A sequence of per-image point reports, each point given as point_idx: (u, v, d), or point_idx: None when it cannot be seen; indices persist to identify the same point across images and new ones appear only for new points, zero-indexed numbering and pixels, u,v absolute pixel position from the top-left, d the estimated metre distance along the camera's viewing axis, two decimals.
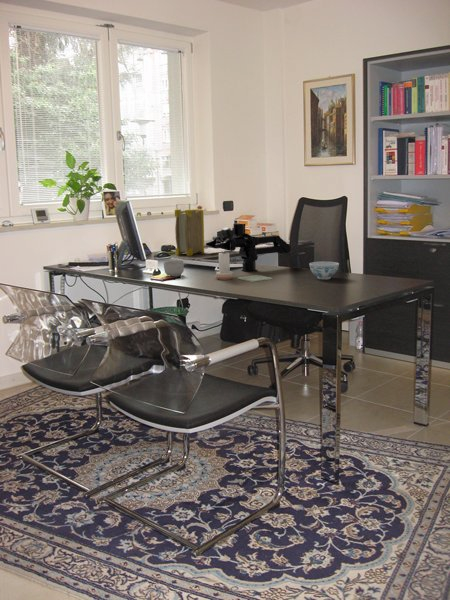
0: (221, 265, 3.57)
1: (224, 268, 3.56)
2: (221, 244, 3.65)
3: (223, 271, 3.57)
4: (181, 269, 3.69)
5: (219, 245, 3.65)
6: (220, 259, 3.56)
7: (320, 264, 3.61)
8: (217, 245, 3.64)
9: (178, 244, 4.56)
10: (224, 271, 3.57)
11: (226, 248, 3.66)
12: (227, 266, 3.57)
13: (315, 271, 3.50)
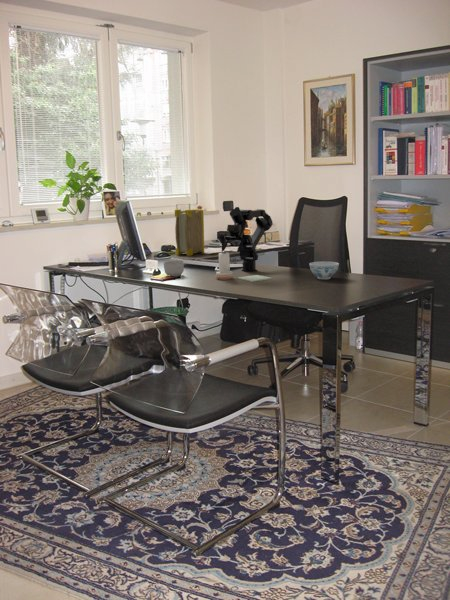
0: (221, 265, 3.57)
1: (224, 268, 3.56)
2: (241, 246, 3.62)
3: (223, 271, 3.57)
4: (181, 269, 3.69)
5: (240, 248, 3.62)
6: (220, 259, 3.56)
7: (320, 264, 3.61)
8: (239, 250, 3.61)
9: (178, 244, 4.56)
10: (224, 271, 3.57)
11: (245, 245, 3.64)
12: (227, 266, 3.57)
13: (315, 271, 3.50)
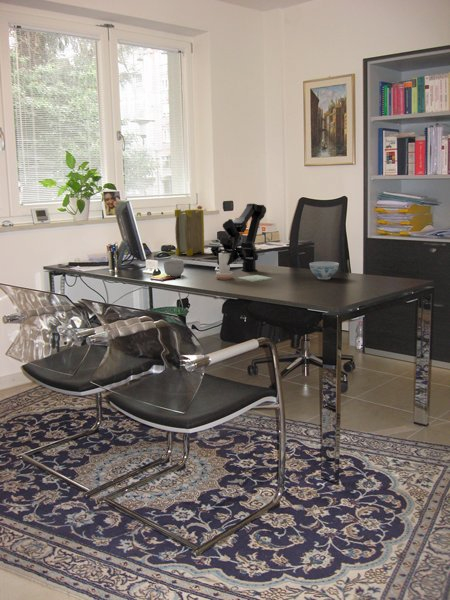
0: (221, 265, 3.57)
1: (224, 268, 3.56)
2: (231, 259, 3.57)
3: (223, 271, 3.57)
4: (181, 269, 3.69)
5: (230, 261, 3.57)
6: (220, 259, 3.56)
7: (320, 264, 3.61)
8: (229, 263, 3.56)
9: (178, 244, 4.56)
10: (224, 271, 3.57)
11: (236, 258, 3.59)
12: (227, 266, 3.57)
13: (315, 271, 3.50)
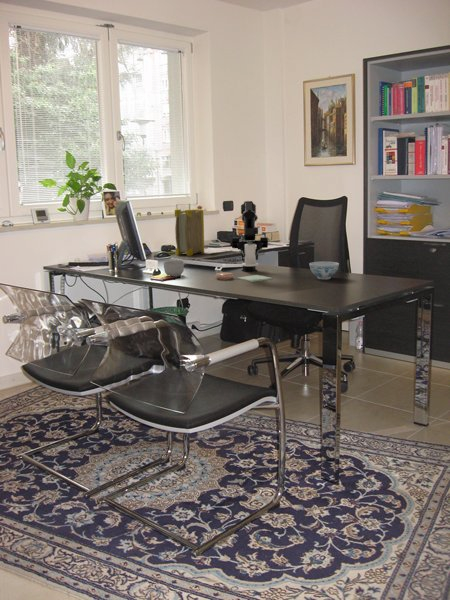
0: (249, 256, 3.52)
1: (252, 259, 3.52)
2: (257, 250, 3.54)
3: (251, 262, 3.52)
4: (181, 269, 3.69)
5: (257, 252, 3.54)
6: (248, 250, 3.51)
7: (320, 264, 3.61)
8: (256, 253, 3.53)
9: (178, 244, 4.56)
10: (252, 262, 3.52)
11: (259, 248, 3.57)
12: (255, 257, 3.53)
13: (315, 271, 3.50)
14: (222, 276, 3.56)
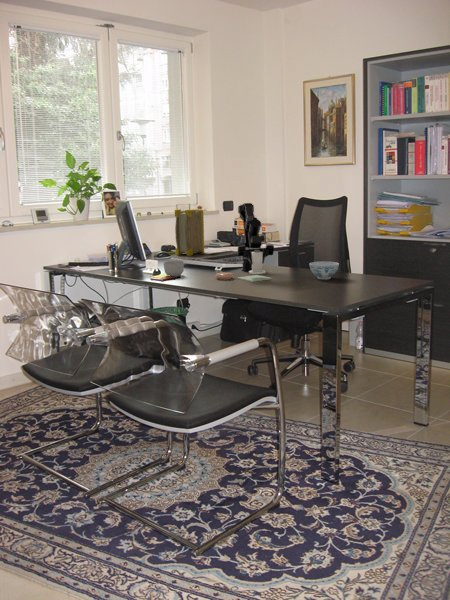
0: (257, 264, 3.52)
1: (260, 266, 3.53)
2: (264, 257, 3.56)
3: (259, 270, 3.53)
4: (181, 269, 3.69)
5: (264, 259, 3.55)
6: (256, 258, 3.52)
7: (320, 264, 3.61)
8: (263, 261, 3.55)
9: (178, 244, 4.56)
10: (260, 270, 3.54)
11: (265, 256, 3.59)
12: (262, 264, 3.54)
13: (315, 271, 3.50)
14: (222, 276, 3.56)
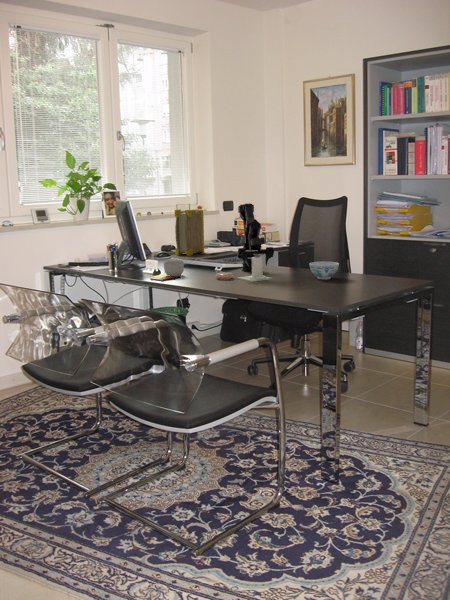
0: (257, 269, 3.53)
1: (260, 271, 3.54)
2: (267, 259, 3.56)
3: (259, 275, 3.54)
4: (181, 269, 3.69)
5: None
6: (256, 263, 3.52)
7: (320, 264, 3.61)
8: None
9: (178, 244, 4.56)
10: (260, 275, 3.54)
11: (268, 258, 3.59)
12: (262, 270, 3.55)
13: (315, 271, 3.50)
14: (222, 276, 3.56)
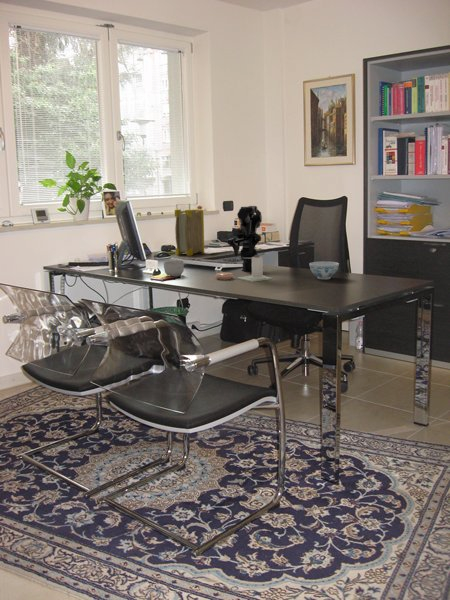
0: (257, 269, 3.53)
1: (260, 271, 3.54)
2: (251, 246, 3.61)
3: (259, 275, 3.54)
4: (181, 269, 3.69)
5: (251, 249, 3.61)
6: (256, 263, 3.52)
7: (320, 264, 3.61)
8: (250, 250, 3.61)
9: (178, 244, 4.56)
10: (260, 275, 3.54)
11: (255, 243, 3.63)
12: (262, 270, 3.55)
13: (315, 271, 3.50)
14: (222, 276, 3.56)
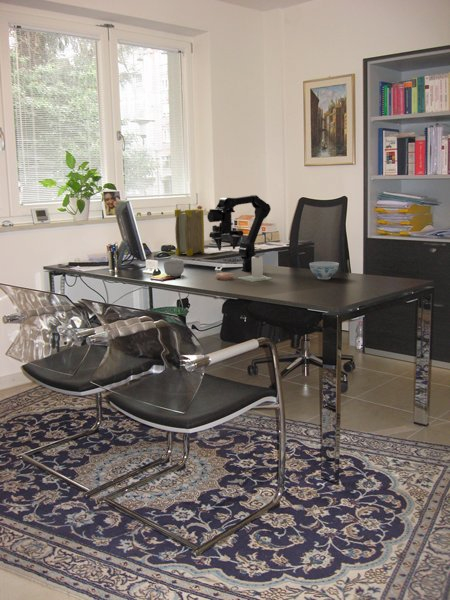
0: (257, 269, 3.53)
1: (260, 271, 3.54)
2: (217, 244, 3.71)
3: (259, 275, 3.54)
4: (181, 269, 3.69)
5: (218, 246, 3.71)
6: (256, 263, 3.52)
7: (320, 264, 3.61)
8: (218, 248, 3.71)
9: (178, 244, 4.56)
10: (260, 275, 3.54)
11: (218, 240, 3.68)
12: (262, 270, 3.55)
13: (315, 271, 3.50)
14: (222, 276, 3.56)
